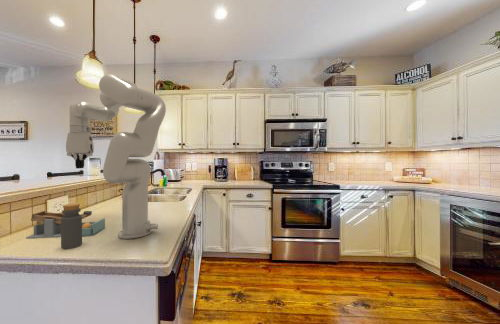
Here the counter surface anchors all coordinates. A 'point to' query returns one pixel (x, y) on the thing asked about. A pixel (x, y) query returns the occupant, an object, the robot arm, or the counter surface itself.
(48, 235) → the stand
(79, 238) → the bottle
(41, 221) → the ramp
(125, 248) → the counter surface
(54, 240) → the counter surface
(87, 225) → the ball
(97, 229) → the tray
